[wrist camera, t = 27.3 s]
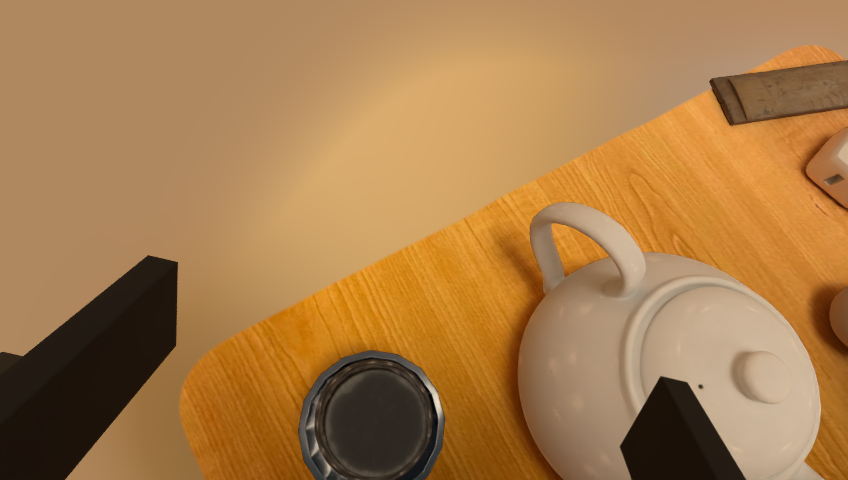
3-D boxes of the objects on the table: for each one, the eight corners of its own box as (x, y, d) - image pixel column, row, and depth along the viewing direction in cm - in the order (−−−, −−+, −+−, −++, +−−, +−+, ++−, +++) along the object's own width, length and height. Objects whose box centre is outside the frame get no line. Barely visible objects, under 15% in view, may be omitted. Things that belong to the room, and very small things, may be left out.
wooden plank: (872, 106, 48) (846, 64, 50) (885, 98, 47) (858, 55, 48) (729, 125, 45) (706, 80, 46) (739, 117, 43) (716, 71, 45)
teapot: (723, 271, 40) (896, 208, 27) (755, 529, 34) (995, 605, 21) (498, 245, 38) (568, 166, 25) (490, 513, 32) (576, 584, 20)
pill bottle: (330, 364, 34) (316, 347, 23) (419, 370, 34) (446, 356, 24) (318, 464, 32) (298, 493, 21) (413, 468, 32) (439, 499, 22)
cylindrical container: (436, 368, 35) (451, 361, 29) (422, 494, 32) (435, 513, 27) (322, 352, 34) (315, 342, 29) (298, 479, 32) (285, 495, 26)
